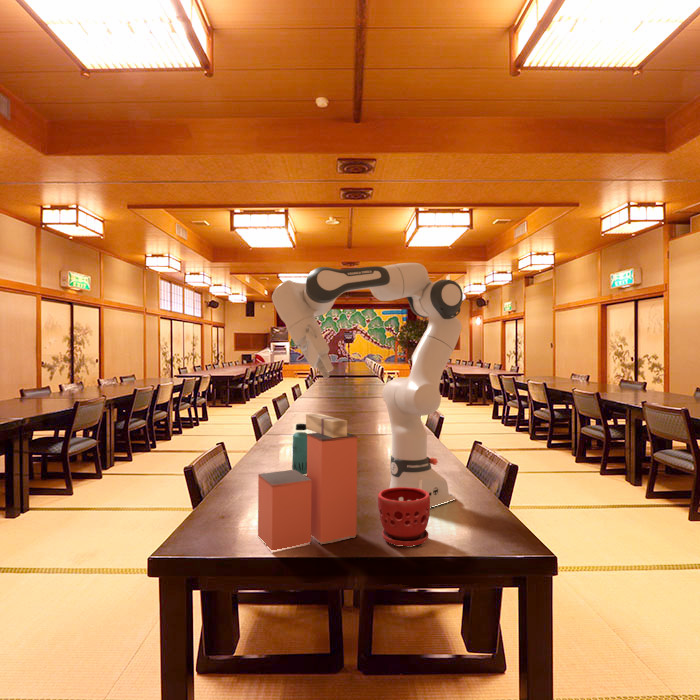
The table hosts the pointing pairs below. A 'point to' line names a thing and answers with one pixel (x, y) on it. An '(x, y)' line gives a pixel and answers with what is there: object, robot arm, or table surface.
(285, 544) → the stand
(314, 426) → the box
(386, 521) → the plant pot
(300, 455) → the beverage bottle
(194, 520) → the table surface
